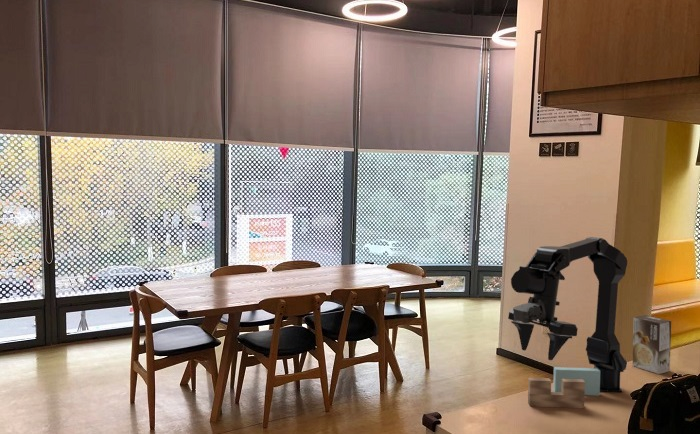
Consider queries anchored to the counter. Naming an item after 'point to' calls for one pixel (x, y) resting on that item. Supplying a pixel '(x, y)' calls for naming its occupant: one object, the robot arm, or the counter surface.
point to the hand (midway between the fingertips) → (536, 355)
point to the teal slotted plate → (587, 374)
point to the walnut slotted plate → (556, 393)
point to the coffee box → (651, 343)
